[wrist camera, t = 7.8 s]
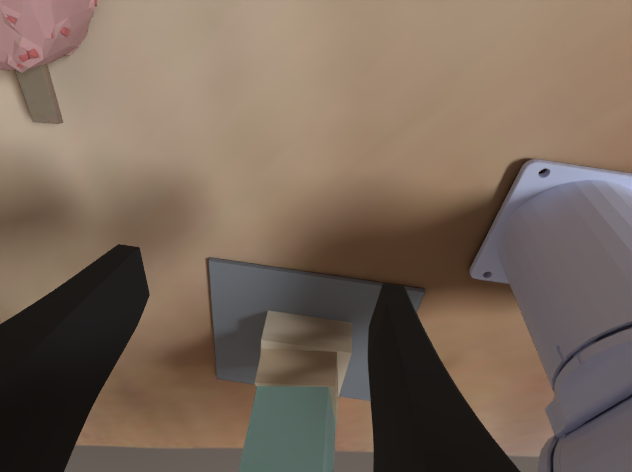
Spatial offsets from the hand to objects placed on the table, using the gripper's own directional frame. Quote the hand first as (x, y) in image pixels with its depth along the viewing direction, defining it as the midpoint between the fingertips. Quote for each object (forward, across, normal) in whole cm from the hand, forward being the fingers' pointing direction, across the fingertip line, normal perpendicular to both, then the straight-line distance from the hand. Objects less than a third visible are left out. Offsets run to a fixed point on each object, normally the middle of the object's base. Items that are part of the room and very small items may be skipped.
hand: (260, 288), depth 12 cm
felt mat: (+10, -2, +16) cm, 19 cm away
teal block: (+5, -2, +16) cm, 17 cm away
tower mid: (+7, -2, +16) cm, 18 cm away
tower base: (+10, -2, +16) cm, 19 cm away
